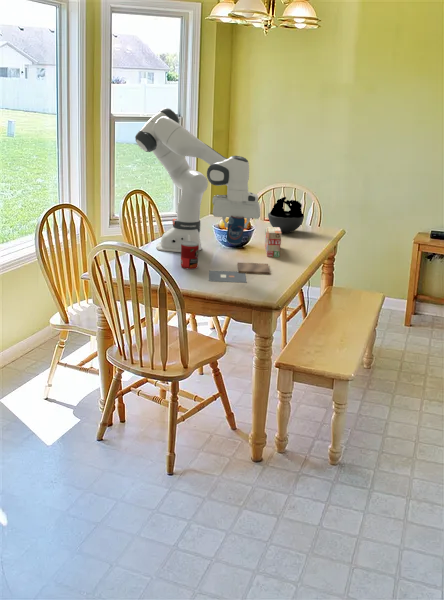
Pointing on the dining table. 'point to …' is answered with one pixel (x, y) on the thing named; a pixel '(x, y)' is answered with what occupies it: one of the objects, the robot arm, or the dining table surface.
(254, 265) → the walnut coaster
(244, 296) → the dining table surface
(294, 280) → the dining table surface
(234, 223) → the soda can
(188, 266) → the canned food
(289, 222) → the coal bowl
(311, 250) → the dining table surface
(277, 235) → the stack of blocks
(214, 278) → the blue gray card
